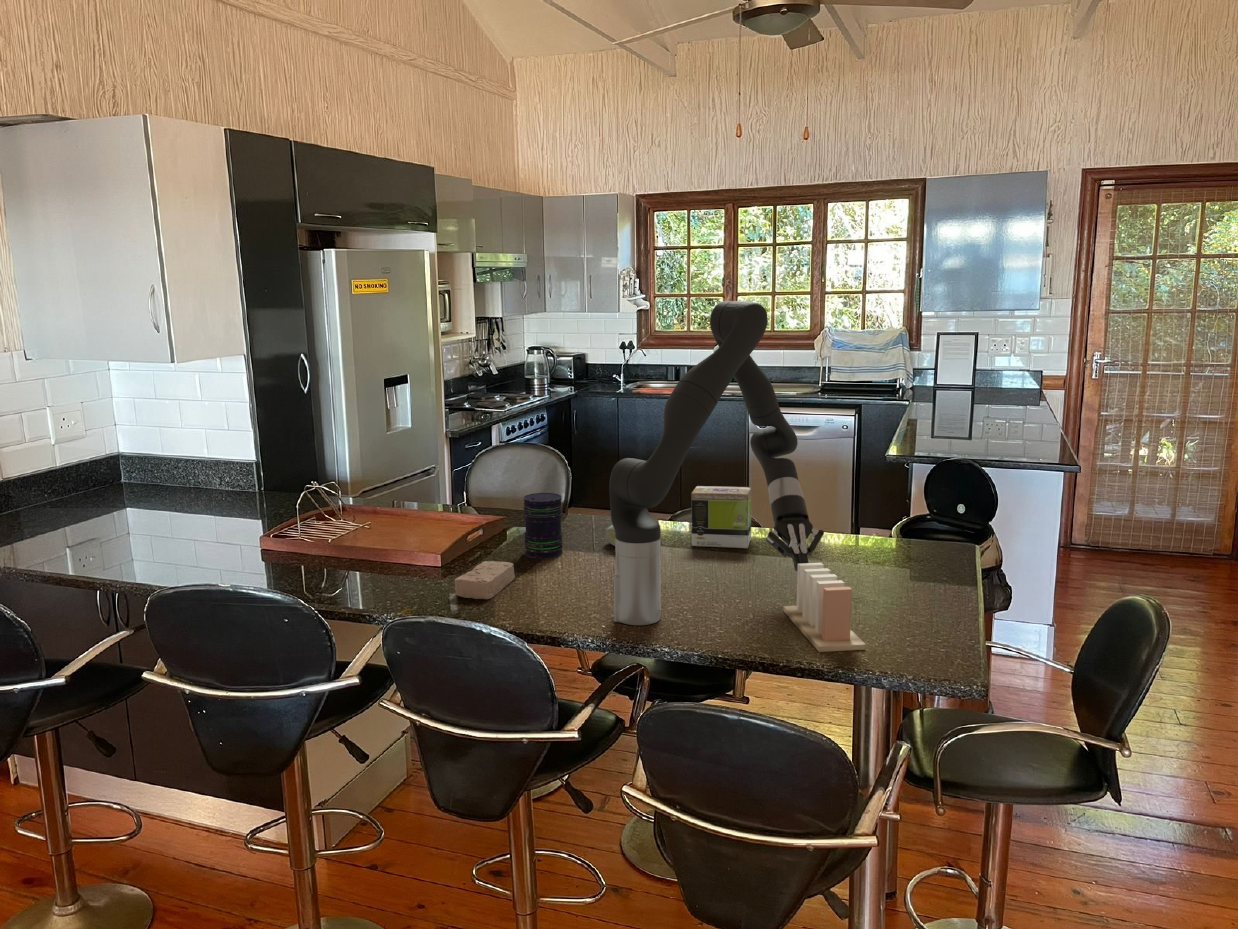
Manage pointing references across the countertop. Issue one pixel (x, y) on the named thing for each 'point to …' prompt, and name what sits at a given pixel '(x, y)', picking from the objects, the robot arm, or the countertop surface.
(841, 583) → the tile
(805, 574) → the tile
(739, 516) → the tea box
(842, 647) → the domino board
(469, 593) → the brick
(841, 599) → the tile
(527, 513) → the storage jar
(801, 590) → the tile
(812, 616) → the tile
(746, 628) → the countertop surface
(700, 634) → the countertop surface
